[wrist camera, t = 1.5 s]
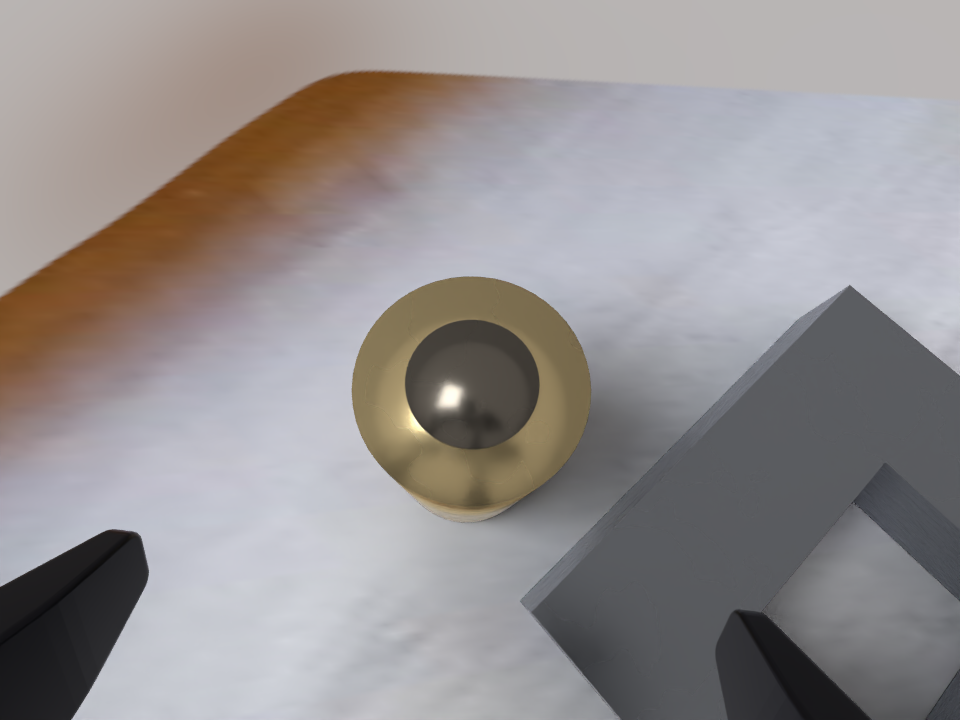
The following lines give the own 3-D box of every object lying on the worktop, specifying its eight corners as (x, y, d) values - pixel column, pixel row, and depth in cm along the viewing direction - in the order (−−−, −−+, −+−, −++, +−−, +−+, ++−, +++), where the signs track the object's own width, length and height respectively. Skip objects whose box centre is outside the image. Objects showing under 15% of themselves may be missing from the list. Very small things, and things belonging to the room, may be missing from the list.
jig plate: (1167, 637, 18) (1298, 655, 15) (920, 1077, 14) (1034, 1210, 11) (799, 318, 22) (849, 285, 19) (520, 601, 18) (531, 612, 15)
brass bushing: (561, 458, 19) (641, 392, 11) (460, 553, 18) (461, 563, 10) (472, 362, 21) (481, 234, 12) (371, 446, 19) (301, 370, 11)
